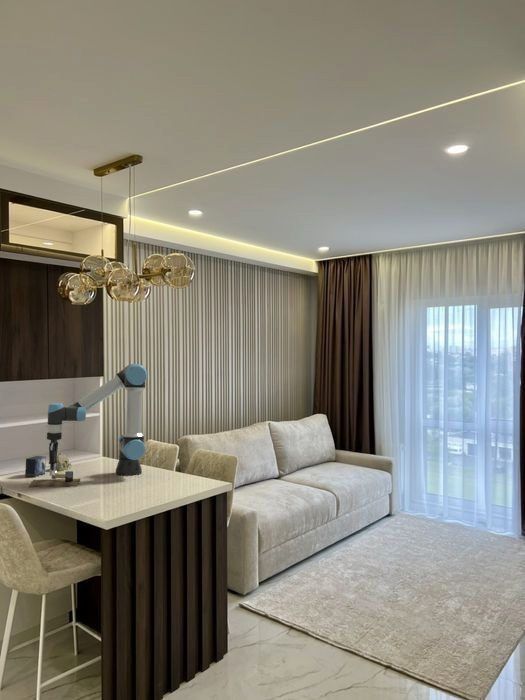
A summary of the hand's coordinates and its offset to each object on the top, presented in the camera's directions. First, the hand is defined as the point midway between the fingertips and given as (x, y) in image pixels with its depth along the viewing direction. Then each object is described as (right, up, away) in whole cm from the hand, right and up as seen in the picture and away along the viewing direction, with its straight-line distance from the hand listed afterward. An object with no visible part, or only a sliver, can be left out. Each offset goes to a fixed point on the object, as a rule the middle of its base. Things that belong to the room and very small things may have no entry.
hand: (52, 475), depth 290 cm
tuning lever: (+6, -2, -3) cm, 7 cm away
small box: (-17, -4, +17) cm, 24 cm away
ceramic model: (-10, -5, +37) cm, 39 cm away
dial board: (+4, -4, -5) cm, 7 cm away
